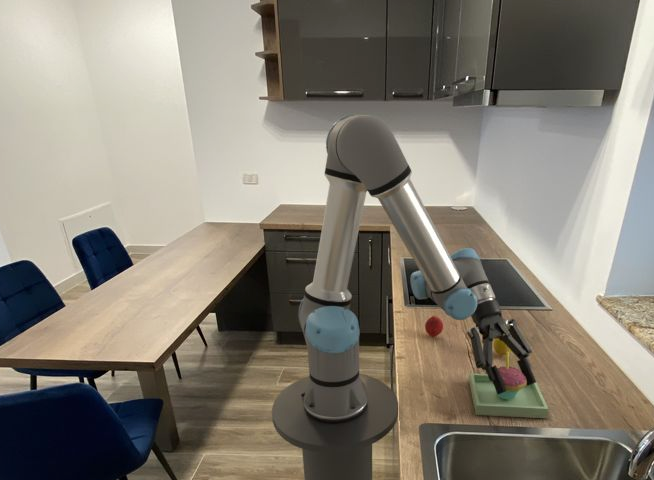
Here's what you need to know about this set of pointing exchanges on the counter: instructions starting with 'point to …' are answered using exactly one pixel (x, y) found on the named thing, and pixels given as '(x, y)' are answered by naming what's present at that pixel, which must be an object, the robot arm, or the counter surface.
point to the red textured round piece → (434, 326)
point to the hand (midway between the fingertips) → (517, 388)
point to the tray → (506, 400)
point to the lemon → (500, 347)
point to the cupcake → (511, 380)
